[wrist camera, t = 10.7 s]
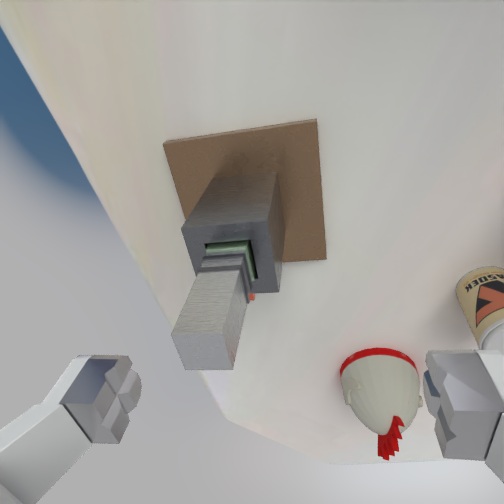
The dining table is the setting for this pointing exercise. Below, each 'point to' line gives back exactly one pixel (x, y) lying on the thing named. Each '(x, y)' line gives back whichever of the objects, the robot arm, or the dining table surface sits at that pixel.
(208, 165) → the post sleeve
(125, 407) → the robot arm
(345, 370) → the kitchen timer
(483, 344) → the coffee cup
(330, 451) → the dining table surface
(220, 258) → the steel post
